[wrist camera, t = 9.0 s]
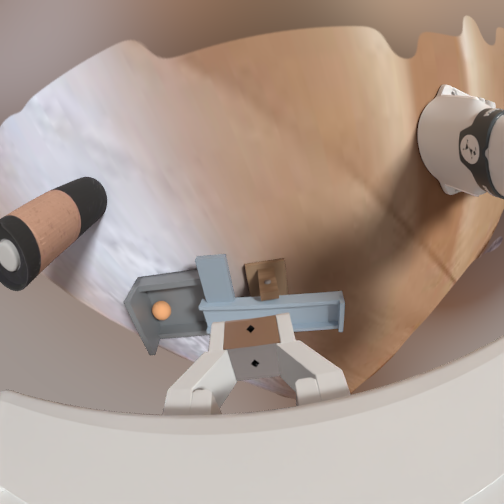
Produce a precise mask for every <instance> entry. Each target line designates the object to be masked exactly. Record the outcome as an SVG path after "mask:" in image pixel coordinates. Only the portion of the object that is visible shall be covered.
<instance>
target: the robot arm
mask: <svg viewBox="0 0 504 504" xmlns="http://www.w3.org/2000/svg"><path fill="white" fill-rule="evenodd" d="M451 92H452V94H451ZM418 146H419V151H420V154H421V157H422V160H423V162H424V164H425V166H426V167H427V169H428V170H429V172H430V173H431V174H432V175H433V176H434V177H436V178H437V179H438V180H439V182H440V184H441V186H442V189H443V191H444V192H445V193H446V194H449V195H453V194H456V193H458V192H461V191H462V192H465V193H468V194H470V195H473V196H477V197H478V196H479V195H481V194H484V193H486V192H488V193H489V194H491V195H493V196H495V197H499V198H502V199H504V110H502V109H498V108H495V103H494V102H492V101H488V100H485V99H483V98H480V97H473V96H470V95H468V94H466V93H464V92H462V91H460V90H458V89H456V88H454V87H452V86H450V85H442V86H441V87H440V89H439V91H438V94H437V96H436V97H435V98H434V99H433V100H432V101H431V102H430V103H429V104H428V105H427V106H426V107H425V109H424V110H423V112H422V114H421V117H420V120H419V125H418ZM275 376H280V377H281V378H282V379H283V380H284V381H285V382H286V383H287V384H288V385H289V386H290V387H291V388H292V389H293V390H294V391H295V392H296V405H297V406H295V407H288V408H281V409H274V410H266V411H257V412H247V413H234V414H222V413H221V411H220V407H221V406H222V404H223V403H224V401H225V400H226V398H227V397H228V395H229V393H230V392H231V391H232V389H233V387H234V386H235V384H236V382H237V381H241V380H249V379H256V378H266V377H275ZM0 504H504V336H502V337H500V338H498V339H496V340H495V341H493V342H491V343H489V344H487V345H485V346H483V347H481V348H479V349H477V350H475V351H473V352H471V353H469V354H467V355H465V356H463V357H460V358H458V359H456V360H454V361H452V362H449V363H447V364H444V365H442V366H439V367H437V368H434V369H432V370H429V371H427V372H424V373H421V374H419V375H416V376H413V377H411V378H407V379H404V380H401V381H398V382H395V383H392V384H389V385H386V386H382V387H379V388H376V389H373V390H368V391H365V392H361V393H357V394H353V395H350V392H349V389H348V386H347V383H346V380H345V377H344V374H343V371H342V370H341V369H340V368H338V367H337V366H335V365H334V364H333V363H331V362H330V361H328V360H327V359H325V358H324V357H323V356H321V355H320V354H318V353H317V352H315V351H314V350H313V349H311V348H310V347H308V346H307V345H306V344H304V343H303V342H301V341H300V340H297V341H296V340H295V335H294V331H293V327H292V322H291V318H290V314H289V313H288V312H287V313H282V314H276V315H271V316H265V317H258V318H251V319H241V320H231V321H222V322H213V323H212V325H211V332H210V341H209V349H208V352H204V353H203V354H202V355H201V356H200V357H199V358H198V359H197V360H196V361H195V362H194V363H193V365H191V366H190V368H189V369H188V370H187V371H186V372H185V373H184V374H183V375H182V376H181V377H180V378H179V379H178V380H177V381H176V382H175V383H174V384H173V385H172V386H171V387H170V388H169V389H168V390H167V395H166V400H165V405H164V409H163V415H153V414H136V413H123V412H115V411H106V410H98V409H91V408H84V407H79V406H73V405H67V404H62V403H58V402H53V401H49V400H44V399H40V398H36V397H32V396H28V395H25V394H21V393H18V392H15V391H12V390H3V391H2V392H0Z"/></svg>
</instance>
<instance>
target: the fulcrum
mask: <svg viewBox="0 0 504 504" xmlns="http://www.w3.org/2000/svg"><path fill="white" fill-rule="evenodd" d="M245 270H246V276H247V281H248V287H249V292H250V297H259V296H261V301H265V300H271V299H278V298H279V295H288V288H287V278H286V268H285V260H284V258H282V259H275V260H268V261H261V262H255V263H248V264H245Z"/></svg>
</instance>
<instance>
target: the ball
mask: <svg viewBox="0 0 504 504" xmlns="http://www.w3.org/2000/svg"><path fill="white" fill-rule="evenodd" d="M152 313H153V315H154V317H155V318H156V319H158V320H165V319H167V318H168V317H169V316H170V314H171V307H170V305H169V304H168V303H167V302H165V301H158V302H156V303H155V304H154V305H153V307H152Z"/></svg>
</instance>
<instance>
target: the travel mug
mask: <svg viewBox="0 0 504 504" xmlns="http://www.w3.org/2000/svg"><path fill="white" fill-rule="evenodd" d="M106 206H107V196H106V192H105V190H104V188H103V186H102V185H101V184H100V183H99V182H98V181H97V180H96V179H94V178H91V177H83V178H80V179H77V180H74V181H72V182H69V183H67V184H64V185H62V186H60V187H57V188H55V189H53V190H50V191H48V192H46V193H44V194H43V195H41V196H39V197H37V198H35V199H33V200H31V201H30V202H28V203H26V204H24V205H23V206H21V207H19V208H18V209H16V210H14V211H13V212H11V213H9V214H8V215H6V216H4V217H3V218H1V219H0V282H1V283H2V284H3V285H4V286H5V287H7V288H9V289H10V290H13V291H20V290H22V289H24V288H25V287H26V286H28V284H29V283H30V282H31V281H32V280H33V279H34V278H35V277H36V276H37V275H38V274H40V273H41V272H42V271H43V270H44V269H45V268H46V267H47V266H48V265H49V264H50V263H51V262H52V261H53V260H54V259H55V258H57V257H58V256H59V255H60V254H61V253H62V252H63V251H64V250H65V249H67V248H68V247H69V246H70V245H71V244H72V243H73V242H74V241H76V240H77V239H78V238H79V237H80V236H81V235H82V234H83V233H84V232H85V231H86V230H87V229H88V228H89V227H90V226H91V225H93V224H94V223H95V222H96V221H97V220H98V219H99V218H100V217H101V216H102V215H103V213H104V212H105V209H106Z"/></svg>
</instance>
